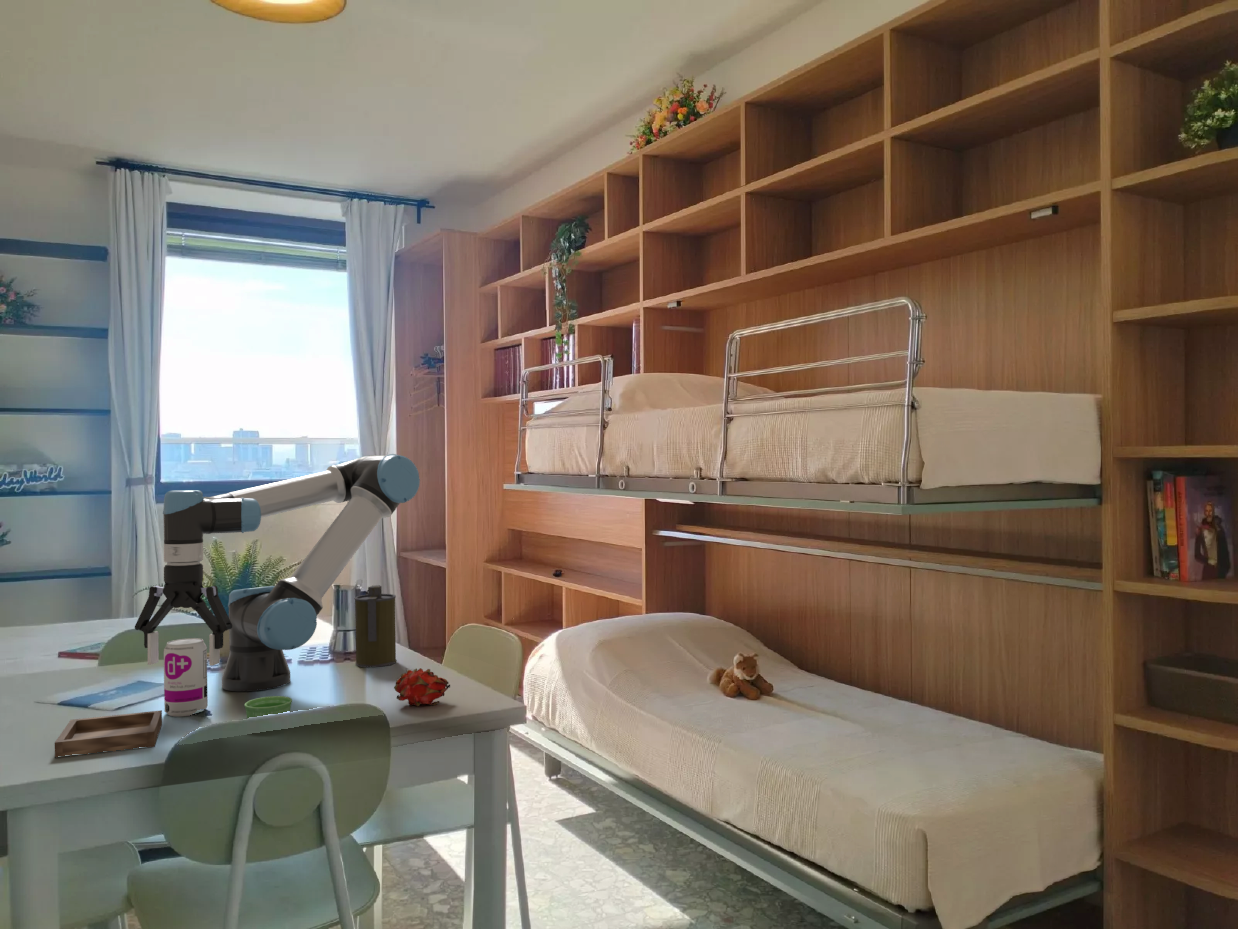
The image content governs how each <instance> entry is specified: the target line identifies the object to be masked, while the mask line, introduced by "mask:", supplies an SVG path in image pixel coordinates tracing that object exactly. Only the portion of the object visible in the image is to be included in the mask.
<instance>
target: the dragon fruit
mask: <svg viewBox="0 0 1238 929" xmlns="http://www.w3.org/2000/svg"><path fill="white" fill-rule="evenodd" d="M449 688H451V684H450V682H449V681H448V680H447V679H445V678H444V677H439V676H438V675H436V674H435V673H434V672H433V671H431V669H430V668H427V669H426V670H424V669H422V668H419V669H418V668H415V669H414V670H411V669H406V672H404V673H401V675H400V677H399V678H397V679H396V680H395V685H394V686H393V689H394V691H395V692H396V693H398V694H397V695H396V699H397V700H398V701H405V700H406V701H407V704H408V705H409V706H411V707H412V706H413V705H414V706H416V707H419V706H420V705H429V706H436V705H437V704H439V703H440V700H438V701H434V700H437V699H439V698H441V697H444V696H445V692H447V690H448V689H449Z"/></svg>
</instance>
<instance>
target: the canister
mask: <svg viewBox="0 0 1238 929" xmlns="http://www.w3.org/2000/svg"><path fill="white" fill-rule="evenodd" d="M382 591H383V590H382V585H379V584H378V585H371V586H368V587H367V590H366V592H365V594H361V595H357V596H355V597H354V604H355V605H354V608H355V611H354V612H355V614H354V615H355V666H357V667H361V668H368V669H369V668H382V667H388V666H392V665H394V664H396V663H397V658H396V657H397V656H396V655H397V654H396V653H397V652H396V651H397V650H396V649H397V648H396V647H397V646H396V644H397V643H396V594H391V593H382Z"/></svg>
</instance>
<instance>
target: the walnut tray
mask: <svg viewBox="0 0 1238 929" xmlns="http://www.w3.org/2000/svg"><path fill="white" fill-rule="evenodd" d="M162 726H163V710H151V711H142V712H132V713H123V714H112V715H103V716H95V717H83V718H76V719H70V720H69V721H68V723H67V725H66V726H65V727H64V729H63V730H62V731H61V733H60V734H59V735H58V737H57V739H56V740H55V741H54V758H55V757H58V756H65V755H72V754H87V755H89V754H88V753H96V754H98V753H97V752H103V751H113V752H117V751H116V750H121V751H125V750H124V749H130V750H134V749H133V748H138V749H140V748H139V747H147V748H153V747H156V744H157V740H158V737H159V735H160V732H161V729H162Z"/></svg>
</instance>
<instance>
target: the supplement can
mask: <svg viewBox="0 0 1238 929" xmlns="http://www.w3.org/2000/svg"><path fill="white" fill-rule="evenodd" d="M207 647H208V646H207V645H206V643H205V641H204V639H203V638H197V637H192V638H191V637H190V638H187V637H186V638H179V639H174V640H170V641H167V642H166V645H165V647H164V649H163V688H164V690H163V691H164V692H163V694H164V696H163V698H164V712H165V714H167V715H168V716H170V717H180V718H181V717H189V716H190V715H191V716H193V715H192V714H193V713H195V712H196V711H197V710H200V709H205V710H206V709H207V708H208V700H209V699H208V652H207V651H208V650H207V649H208V648H207Z"/></svg>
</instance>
